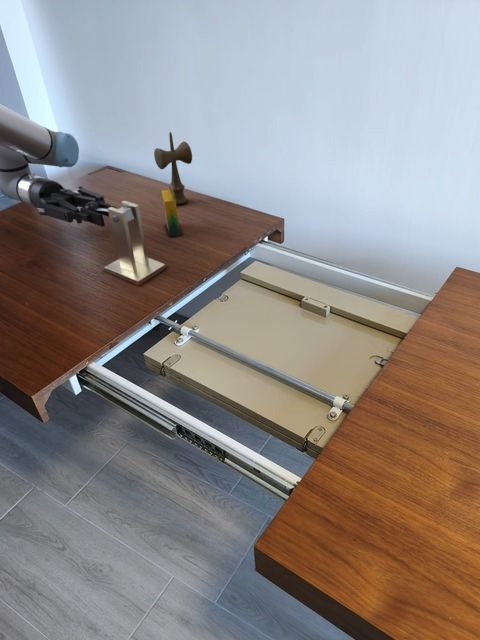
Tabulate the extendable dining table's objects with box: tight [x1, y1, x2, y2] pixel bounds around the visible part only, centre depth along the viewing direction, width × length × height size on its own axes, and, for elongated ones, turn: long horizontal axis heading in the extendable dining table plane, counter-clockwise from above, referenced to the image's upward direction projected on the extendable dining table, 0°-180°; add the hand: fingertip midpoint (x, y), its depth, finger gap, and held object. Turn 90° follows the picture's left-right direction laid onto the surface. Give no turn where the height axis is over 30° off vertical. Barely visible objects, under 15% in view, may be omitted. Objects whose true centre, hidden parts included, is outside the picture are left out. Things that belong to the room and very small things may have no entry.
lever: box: [84, 202, 134, 222], centre depth 106 cm, size 14×4×4 cm, turn 57°
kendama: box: [153, 131, 193, 206], centre depth 135 cm, size 6×10×20 cm, turn 126°
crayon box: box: [161, 182, 181, 238], centre depth 124 cm, size 7×3×12 cm, turn 15°
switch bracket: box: [103, 200, 167, 286], centre depth 107 cm, size 11×9×16 cm
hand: (109, 217), depth 106 cm, fingers closed on lever, 4 cm apart
